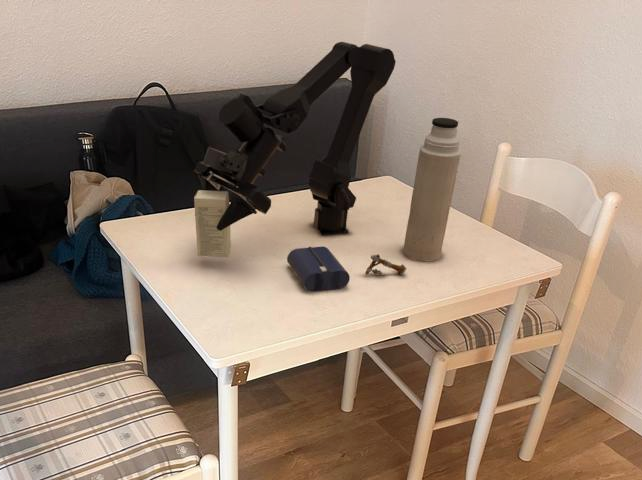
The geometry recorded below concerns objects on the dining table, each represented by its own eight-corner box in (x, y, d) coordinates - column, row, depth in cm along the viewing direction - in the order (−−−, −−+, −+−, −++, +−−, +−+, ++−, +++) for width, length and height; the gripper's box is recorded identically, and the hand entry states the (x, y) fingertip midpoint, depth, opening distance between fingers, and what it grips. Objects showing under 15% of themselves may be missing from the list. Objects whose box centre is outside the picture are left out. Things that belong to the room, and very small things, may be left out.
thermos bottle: (440, 248, 147) (466, 116, 132) (440, 263, 141) (467, 127, 125) (403, 243, 149) (425, 112, 133) (402, 259, 142) (424, 123, 126)
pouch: (329, 263, 139) (330, 244, 137) (348, 288, 130) (351, 268, 128) (286, 267, 137) (287, 247, 134) (303, 292, 128) (305, 272, 126)
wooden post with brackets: (360, 270, 135) (371, 250, 133) (392, 282, 138) (403, 263, 136) (363, 274, 133) (374, 254, 131) (395, 286, 137) (407, 267, 135)
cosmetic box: (231, 249, 136) (231, 190, 129) (227, 258, 133) (227, 199, 126) (199, 246, 137) (198, 188, 130) (195, 256, 133) (193, 197, 126)
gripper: (200, 119, 129) (154, 186, 130) (260, 144, 118) (209, 217, 118) (233, 152, 138) (190, 215, 139) (292, 179, 126) (245, 247, 127)
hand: (207, 223), depth 130 cm, fingers closed on cosmetic box, 7 cm apart
